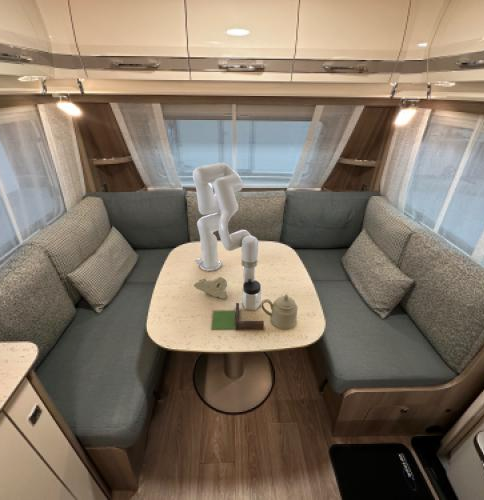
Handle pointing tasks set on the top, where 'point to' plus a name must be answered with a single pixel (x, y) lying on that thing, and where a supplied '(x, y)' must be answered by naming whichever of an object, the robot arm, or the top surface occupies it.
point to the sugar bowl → (282, 312)
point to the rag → (223, 320)
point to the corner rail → (247, 323)
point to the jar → (251, 295)
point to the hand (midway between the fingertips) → (248, 291)
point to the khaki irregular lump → (213, 287)
